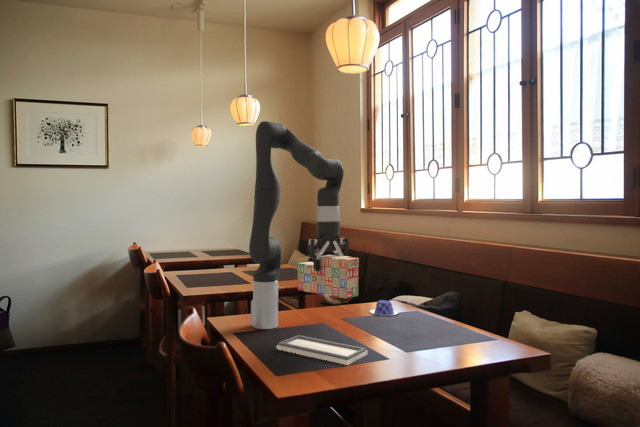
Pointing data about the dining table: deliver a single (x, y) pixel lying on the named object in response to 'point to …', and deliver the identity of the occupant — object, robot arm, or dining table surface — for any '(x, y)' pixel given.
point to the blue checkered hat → (384, 308)
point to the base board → (322, 349)
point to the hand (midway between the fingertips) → (328, 270)
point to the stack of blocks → (330, 276)
